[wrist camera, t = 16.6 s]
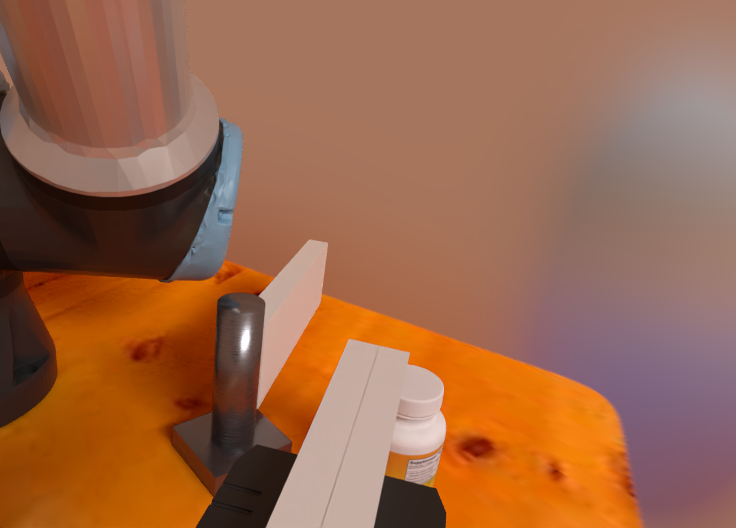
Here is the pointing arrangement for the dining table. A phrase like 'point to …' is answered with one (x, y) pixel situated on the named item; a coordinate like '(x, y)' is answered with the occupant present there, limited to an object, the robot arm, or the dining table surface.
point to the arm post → (231, 396)
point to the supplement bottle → (418, 429)
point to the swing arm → (289, 309)
